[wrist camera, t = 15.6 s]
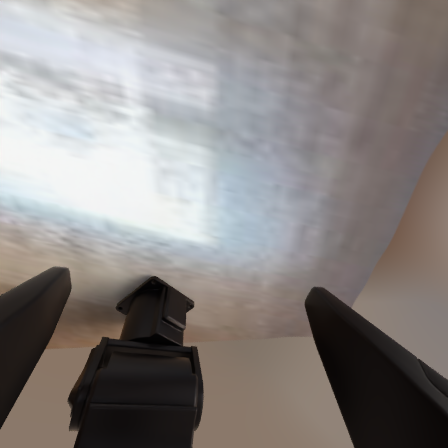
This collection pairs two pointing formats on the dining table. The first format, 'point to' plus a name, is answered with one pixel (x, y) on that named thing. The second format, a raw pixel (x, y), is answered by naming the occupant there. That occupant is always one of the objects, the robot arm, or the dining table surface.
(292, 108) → the dining table surface
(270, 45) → the dining table surface
